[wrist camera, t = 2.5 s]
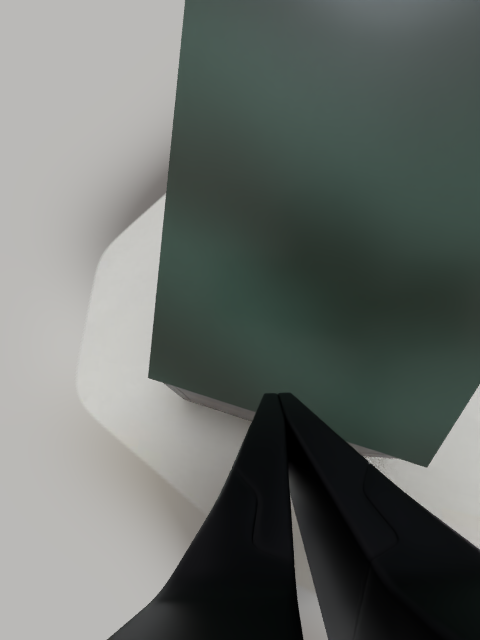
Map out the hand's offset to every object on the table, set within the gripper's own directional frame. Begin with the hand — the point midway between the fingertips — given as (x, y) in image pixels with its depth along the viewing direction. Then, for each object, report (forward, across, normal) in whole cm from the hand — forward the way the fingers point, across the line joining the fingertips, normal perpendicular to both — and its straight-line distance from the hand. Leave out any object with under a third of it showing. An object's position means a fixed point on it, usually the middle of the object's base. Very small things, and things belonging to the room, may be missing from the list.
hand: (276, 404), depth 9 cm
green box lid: (+4, -3, -4) cm, 7 cm away
